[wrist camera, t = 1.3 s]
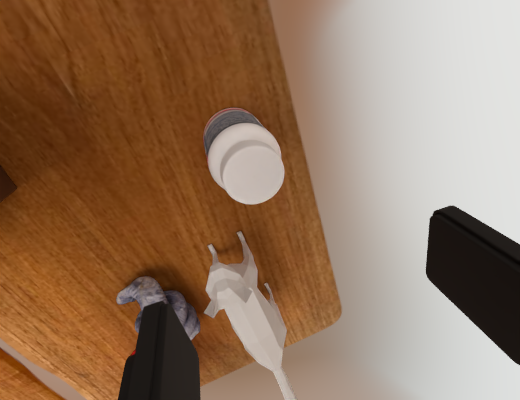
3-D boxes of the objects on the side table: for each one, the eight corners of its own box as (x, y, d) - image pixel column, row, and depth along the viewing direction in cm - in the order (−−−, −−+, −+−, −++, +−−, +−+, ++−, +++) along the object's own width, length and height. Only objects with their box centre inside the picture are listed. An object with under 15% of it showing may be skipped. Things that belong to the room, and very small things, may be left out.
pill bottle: (190, 136, 25) (191, 176, 17) (234, 93, 24) (257, 115, 17) (232, 177, 28) (250, 227, 20) (273, 138, 27) (309, 175, 19)
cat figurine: (228, 196, 28) (260, 308, 16) (287, 319, 38) (334, 445, 26) (185, 214, 28) (186, 341, 16) (256, 333, 38) (289, 466, 26)
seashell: (124, 269, 31) (194, 308, 36) (94, 320, 28) (175, 355, 33) (149, 265, 28) (222, 308, 33) (117, 323, 24) (204, 361, 29)
